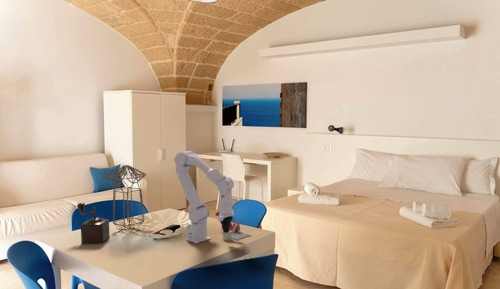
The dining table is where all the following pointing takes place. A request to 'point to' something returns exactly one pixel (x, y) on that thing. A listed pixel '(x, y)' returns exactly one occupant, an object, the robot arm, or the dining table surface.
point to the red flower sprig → (231, 224)
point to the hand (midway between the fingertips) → (226, 232)
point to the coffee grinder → (93, 228)
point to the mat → (239, 235)
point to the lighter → (229, 234)
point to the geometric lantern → (127, 192)
